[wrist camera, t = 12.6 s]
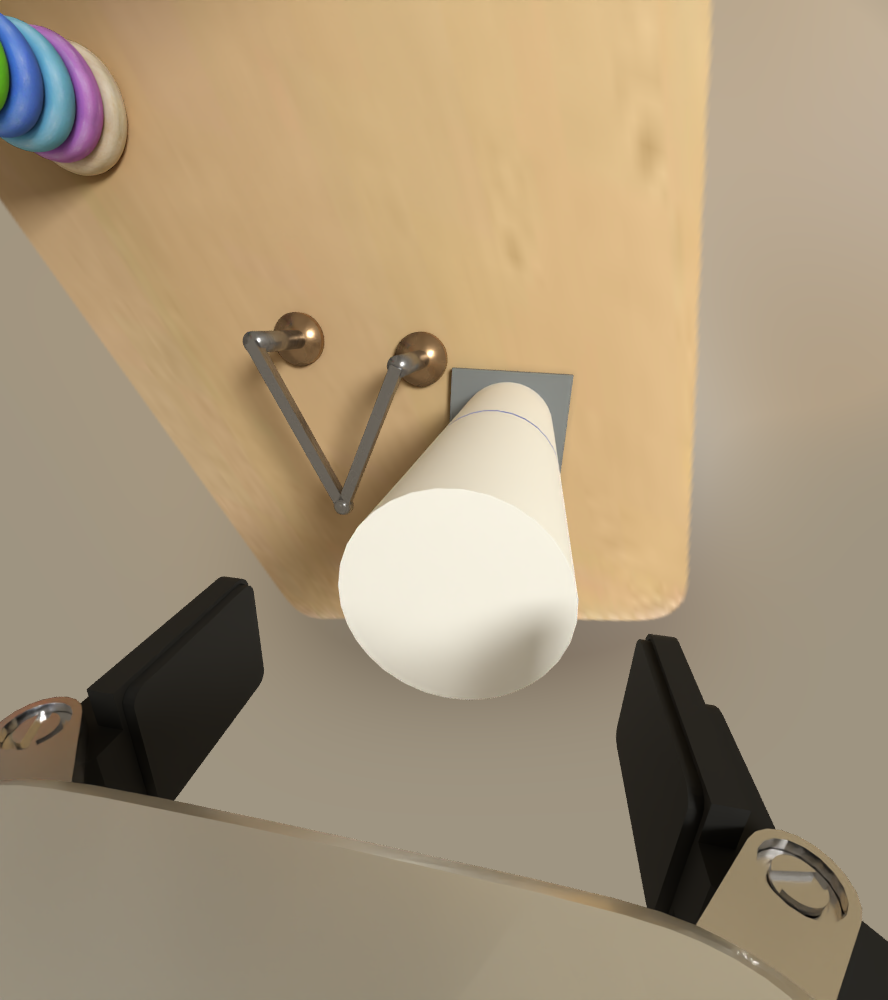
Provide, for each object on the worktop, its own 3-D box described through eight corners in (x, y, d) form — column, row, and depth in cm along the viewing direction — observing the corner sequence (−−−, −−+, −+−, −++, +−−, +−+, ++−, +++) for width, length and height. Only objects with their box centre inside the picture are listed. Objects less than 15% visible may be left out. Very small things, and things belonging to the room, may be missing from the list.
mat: (453, 367, 37) (452, 368, 36) (572, 374, 35) (573, 375, 35) (448, 478, 40) (447, 480, 39) (557, 488, 39) (557, 491, 38)
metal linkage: (275, 311, 38) (214, 308, 31) (449, 318, 36) (426, 317, 29) (288, 475, 43) (238, 506, 36) (441, 491, 41) (421, 526, 33)
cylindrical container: (526, 364, 35) (505, 443, 12) (568, 448, 37) (620, 659, 14) (444, 409, 37) (294, 548, 14) (486, 487, 39) (412, 724, 16)
